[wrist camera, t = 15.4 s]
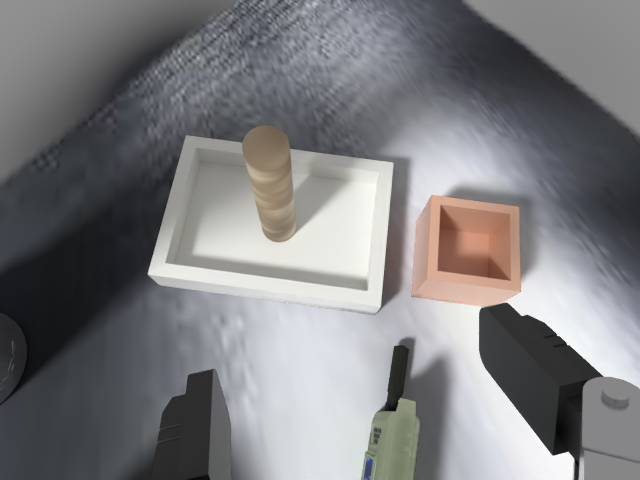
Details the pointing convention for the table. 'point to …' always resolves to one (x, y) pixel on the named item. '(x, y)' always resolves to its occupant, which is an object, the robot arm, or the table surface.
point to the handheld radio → (394, 430)
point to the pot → (467, 252)
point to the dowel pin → (271, 180)
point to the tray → (263, 254)
